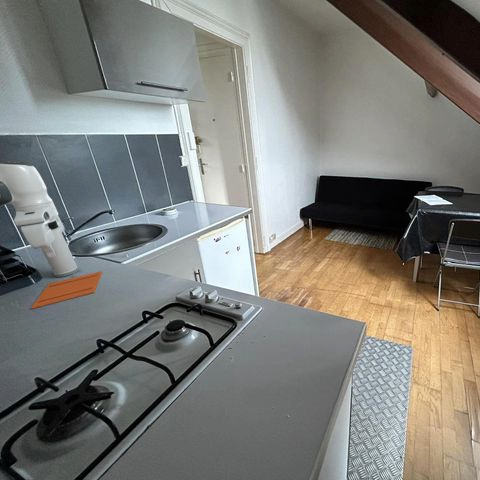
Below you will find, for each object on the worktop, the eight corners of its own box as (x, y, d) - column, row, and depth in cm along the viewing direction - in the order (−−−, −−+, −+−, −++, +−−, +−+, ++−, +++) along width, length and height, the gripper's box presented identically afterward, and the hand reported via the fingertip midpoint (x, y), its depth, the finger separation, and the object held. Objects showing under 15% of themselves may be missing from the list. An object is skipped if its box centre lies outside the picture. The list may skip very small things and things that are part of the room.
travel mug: (50, 279, 89) (21, 224, 81) (62, 270, 95) (36, 218, 87) (71, 276, 90) (45, 221, 83) (82, 267, 96) (59, 216, 89)
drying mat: (31, 309, 73) (30, 307, 73) (49, 284, 86) (48, 283, 85) (94, 292, 79) (93, 291, 79) (102, 272, 92) (101, 270, 92)
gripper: (36, 208, 91) (54, 244, 96) (11, 222, 75) (34, 264, 80) (60, 204, 94) (76, 240, 99) (40, 217, 78) (60, 259, 83)
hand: (57, 251), depth 90 cm, fingers open, 8 cm apart
